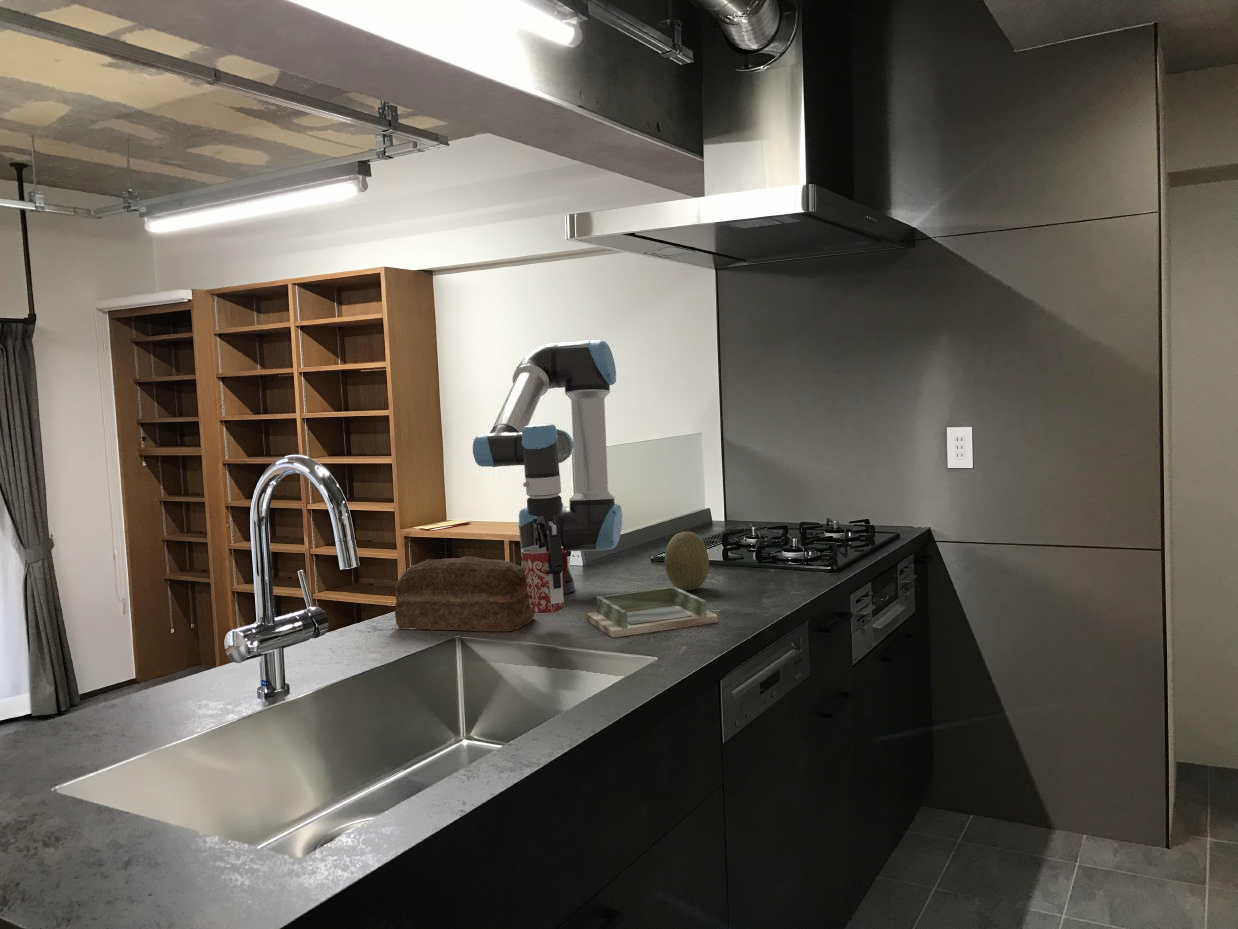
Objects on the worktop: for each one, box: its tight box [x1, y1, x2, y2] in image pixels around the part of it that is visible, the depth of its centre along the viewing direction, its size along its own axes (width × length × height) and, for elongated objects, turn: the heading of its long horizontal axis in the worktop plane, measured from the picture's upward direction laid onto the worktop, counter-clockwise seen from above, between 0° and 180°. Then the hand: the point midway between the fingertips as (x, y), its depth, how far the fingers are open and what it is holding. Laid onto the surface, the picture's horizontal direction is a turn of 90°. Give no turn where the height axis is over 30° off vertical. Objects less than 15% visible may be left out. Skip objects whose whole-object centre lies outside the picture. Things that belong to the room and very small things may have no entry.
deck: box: [586, 586, 719, 638], centre depth 209 cm, size 18×24×5 cm
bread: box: [394, 555, 536, 632], centre depth 217 cm, size 15×32×16 cm, turn 71°
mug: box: [520, 545, 569, 614], centre depth 208 cm, size 13×9×14 cm
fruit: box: [664, 530, 710, 592], centre depth 240 cm, size 11×11×15 cm
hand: (551, 598), depth 208 cm, fingers closed on mug, 9 cm apart
